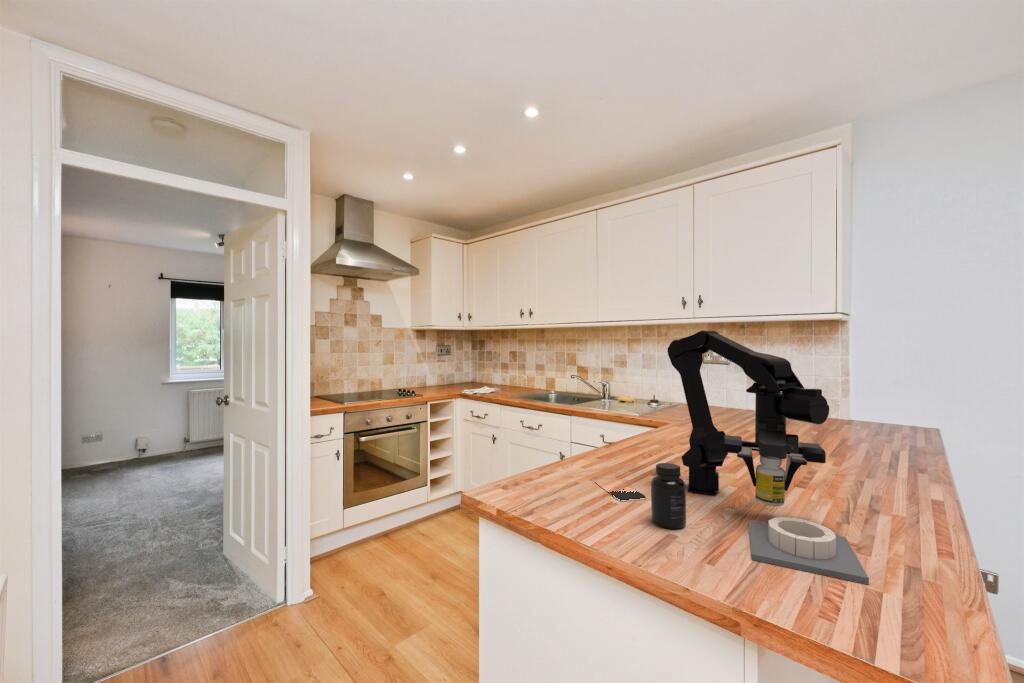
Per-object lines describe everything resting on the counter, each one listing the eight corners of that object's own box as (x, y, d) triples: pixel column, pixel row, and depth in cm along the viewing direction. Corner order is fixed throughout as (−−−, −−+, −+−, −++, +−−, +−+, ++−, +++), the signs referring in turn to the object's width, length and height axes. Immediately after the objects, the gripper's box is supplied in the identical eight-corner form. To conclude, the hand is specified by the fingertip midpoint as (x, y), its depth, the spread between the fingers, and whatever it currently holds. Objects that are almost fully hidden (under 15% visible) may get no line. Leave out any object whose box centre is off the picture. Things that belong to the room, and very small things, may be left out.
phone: (617, 478, 117) (647, 497, 103) (617, 481, 117) (647, 500, 103) (592, 480, 115) (619, 499, 101) (592, 483, 115) (619, 503, 101)
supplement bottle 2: (775, 508, 88) (775, 461, 88) (749, 500, 93) (750, 455, 93) (790, 504, 91) (790, 458, 91) (765, 496, 95) (765, 452, 95)
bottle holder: (751, 559, 74) (752, 536, 74) (749, 524, 88) (749, 505, 88) (868, 584, 67) (869, 559, 67) (845, 542, 81) (845, 521, 81)
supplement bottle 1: (684, 518, 91) (685, 463, 91) (686, 532, 85) (687, 472, 85) (651, 514, 94) (651, 459, 93) (650, 527, 87) (651, 468, 87)
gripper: (721, 417, 89) (720, 492, 89) (831, 426, 80) (830, 509, 80) (722, 410, 99) (722, 477, 99) (820, 417, 90) (820, 490, 90)
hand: (770, 488), depth 92 cm, fingers closed on supplement bottle 2, 5 cm apart
